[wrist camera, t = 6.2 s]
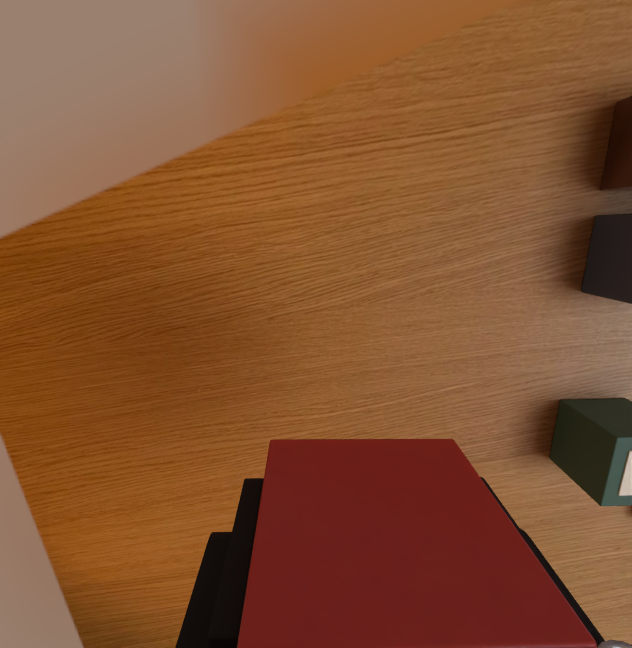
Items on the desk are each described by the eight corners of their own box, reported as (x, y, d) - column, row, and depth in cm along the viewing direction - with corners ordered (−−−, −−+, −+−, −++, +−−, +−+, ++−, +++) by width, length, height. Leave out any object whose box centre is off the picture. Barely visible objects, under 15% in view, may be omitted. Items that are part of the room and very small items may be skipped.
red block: (270, 438, 10) (233, 662, 5) (453, 437, 10) (606, 653, 5) (272, 582, 11) (247, 877, 6) (434, 579, 11) (539, 863, 6)
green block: (559, 399, 26) (618, 438, 21) (625, 398, 26) (699, 436, 22) (548, 458, 28) (601, 508, 23) (611, 456, 28) (678, 505, 23)
